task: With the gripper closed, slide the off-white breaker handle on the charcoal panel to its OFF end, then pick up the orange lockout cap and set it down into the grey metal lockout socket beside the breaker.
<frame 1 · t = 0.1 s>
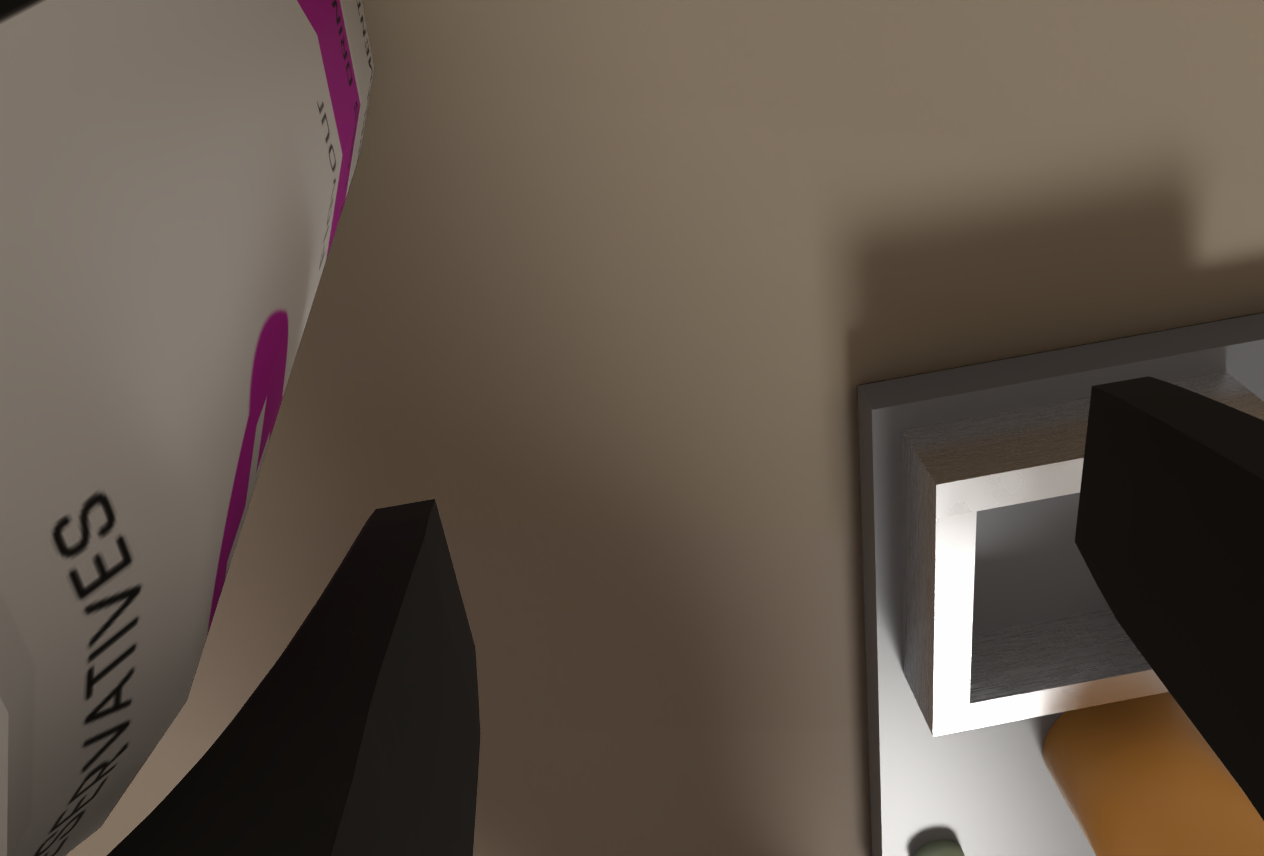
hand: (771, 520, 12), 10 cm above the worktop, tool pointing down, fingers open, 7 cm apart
supplement can: (119, 33, 18), on the worktop, touching gripper
breaker panel: (1220, 599, 27), on the worktop
lockout socket: (1053, 532, 24), resting on breaker panel
lockout cap: (1111, 736, 28), point 1 cm above the worktop, touching breaker panel
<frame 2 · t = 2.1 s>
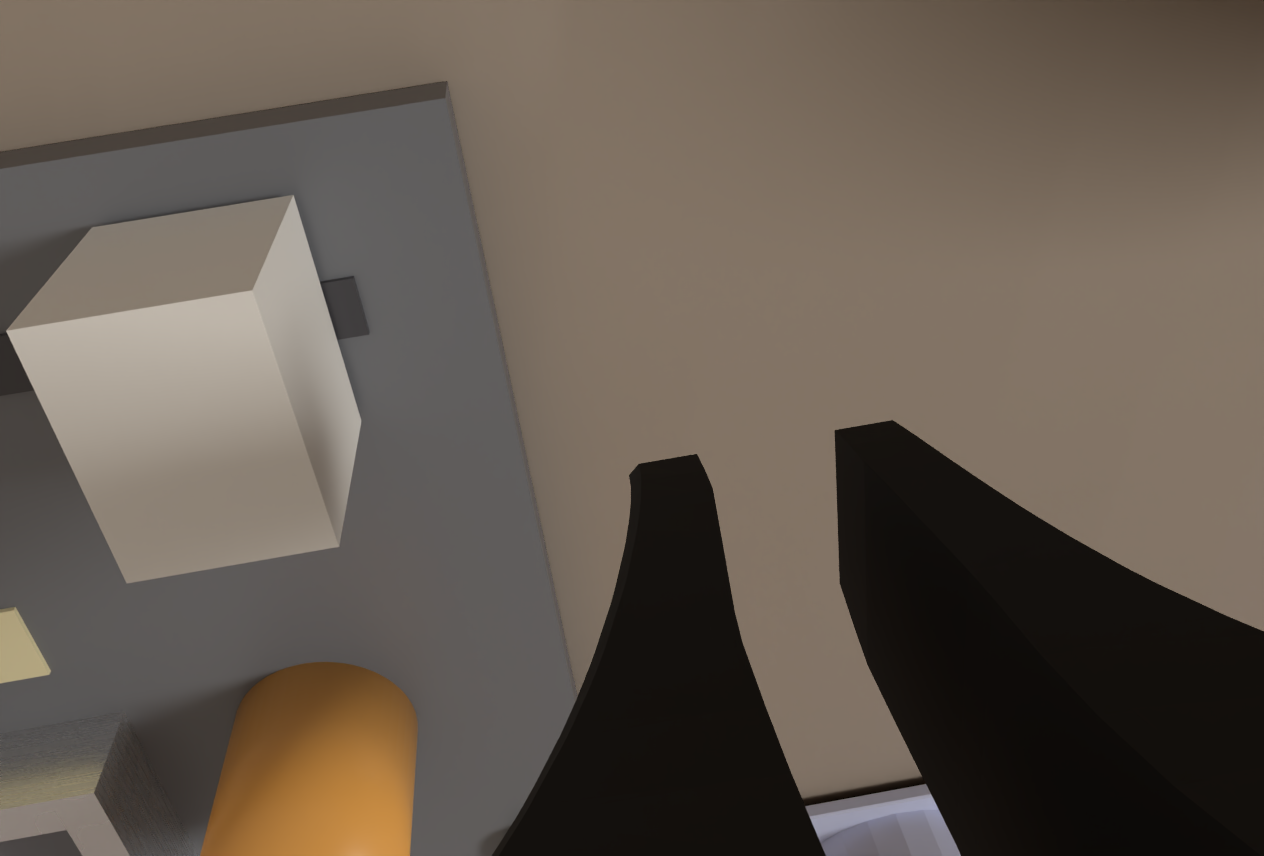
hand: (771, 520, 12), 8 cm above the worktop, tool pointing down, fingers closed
breaker handle: (212, 383, 16), point 3 cm above the worktop, slide at 0.0 cm
breaker panel: (139, 610, 21), on the worktop
lockout socket: (21, 854, 23), resting on breaker panel
lockout cap: (327, 728, 22), point 1 cm above the worktop, touching breaker panel
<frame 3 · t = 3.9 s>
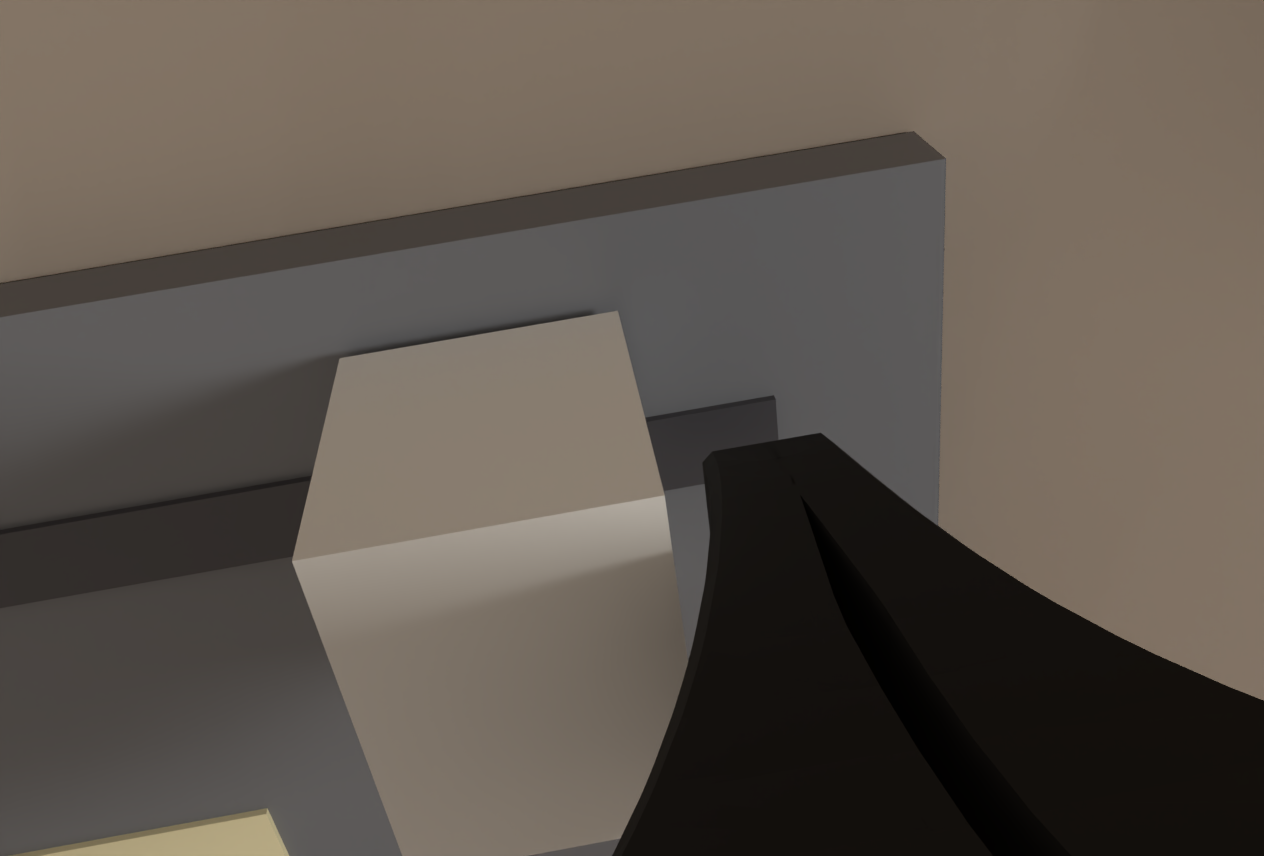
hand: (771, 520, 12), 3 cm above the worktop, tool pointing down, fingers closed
breaker handle: (518, 582, 11), point 3 cm above the worktop, slide at 1.2 cm, touching gripper
breaker panel: (401, 793, 17), on the worktop
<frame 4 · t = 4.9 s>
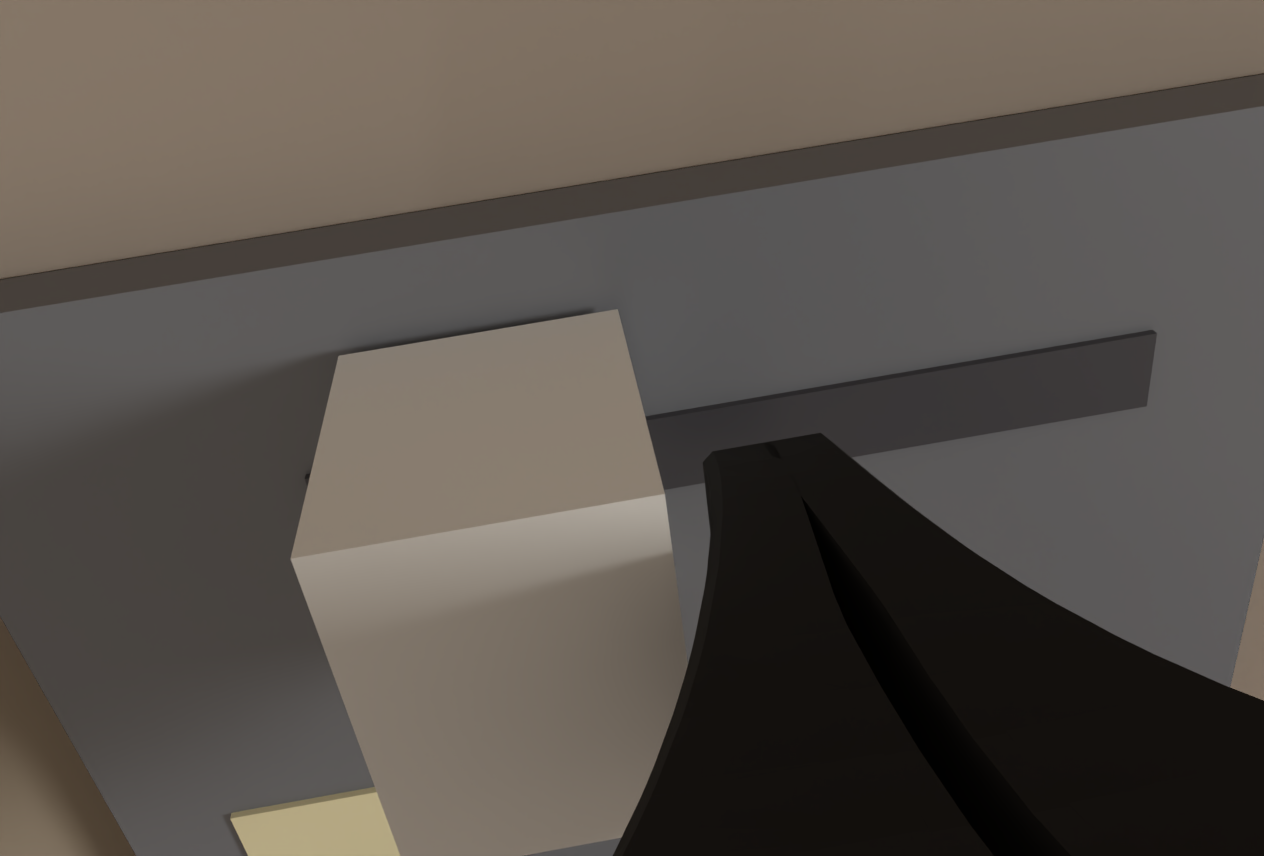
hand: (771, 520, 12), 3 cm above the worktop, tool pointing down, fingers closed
breaker handle: (517, 580, 11), point 3 cm above the worktop, slide at 5.7 cm, touching gripper
breaker panel: (690, 739, 17), on the worktop
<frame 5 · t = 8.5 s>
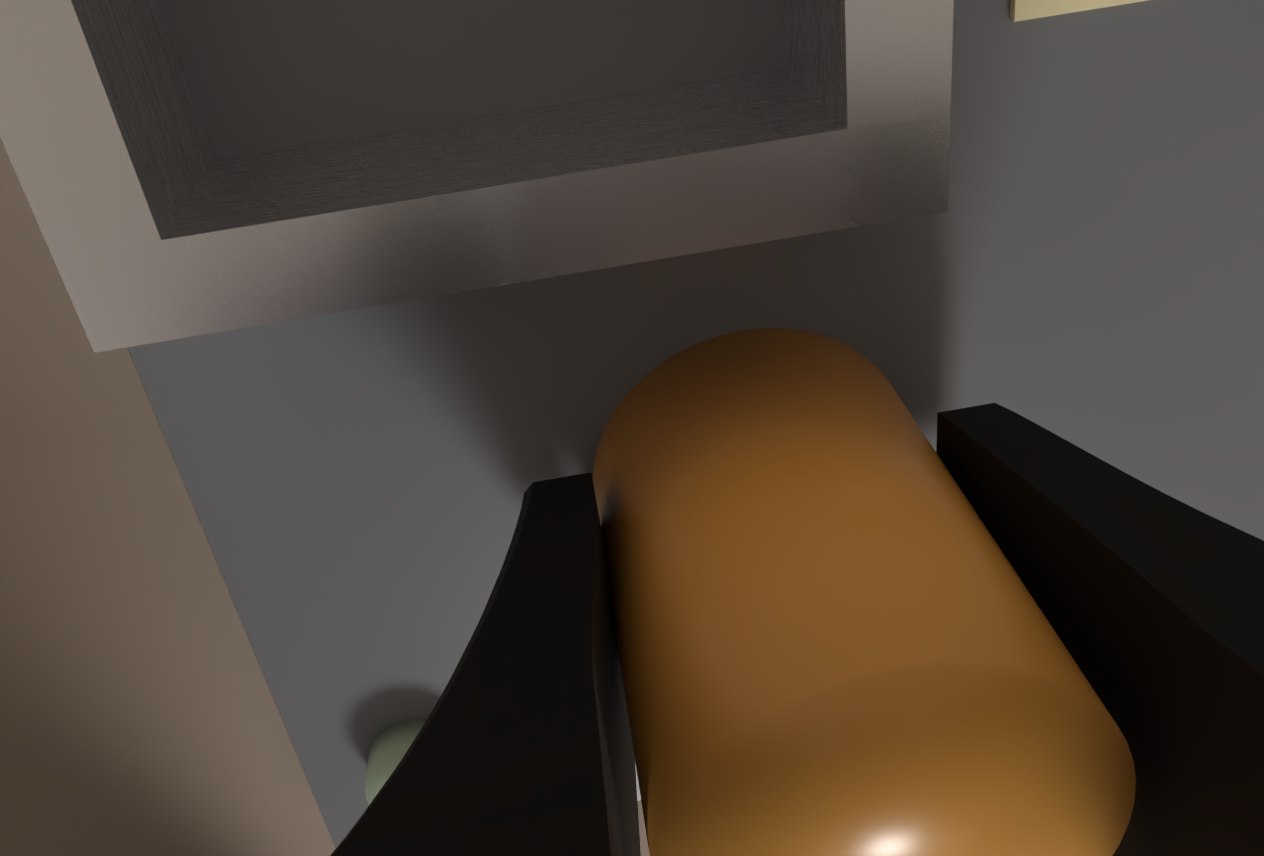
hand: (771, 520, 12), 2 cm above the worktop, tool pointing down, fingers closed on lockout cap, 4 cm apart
breaker panel: (990, 142, 12), on the worktop
lockout cap: (752, 473, 12), point 1 cm above the worktop, touching breaker panel, gripper
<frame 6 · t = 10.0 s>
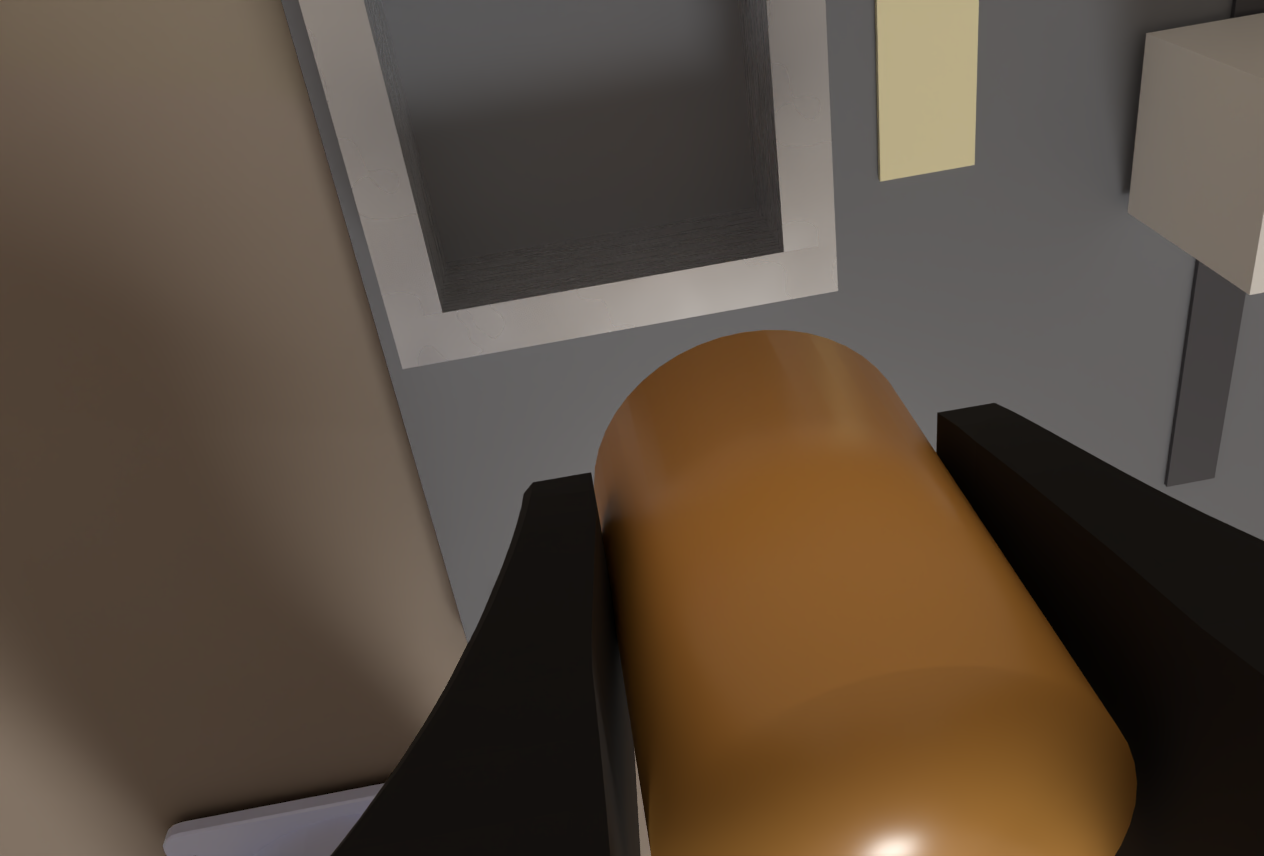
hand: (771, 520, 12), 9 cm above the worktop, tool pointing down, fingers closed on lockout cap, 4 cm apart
breaker panel: (879, 238, 20), on the worktop
lockout socket: (575, 75, 17), resting on breaker panel
lockout cap: (753, 474, 12), point 8 cm above the worktop, touching gripper
when the fingers open (4 cm above the worktop, at t = 11.4 s): lockout cap drops 2 cm, resting on breaker panel.
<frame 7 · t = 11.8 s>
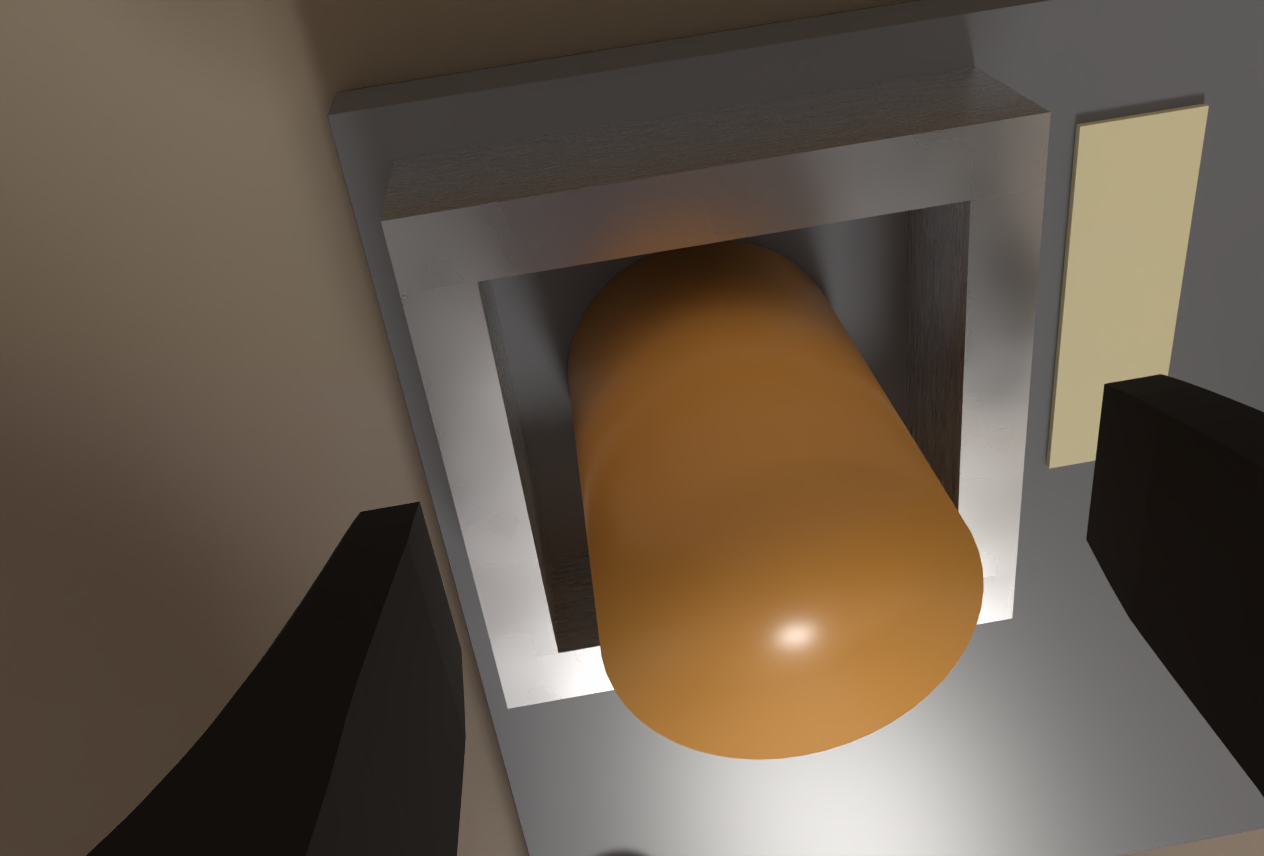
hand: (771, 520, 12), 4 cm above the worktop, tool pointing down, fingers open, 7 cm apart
breaker panel: (1030, 505, 18), on the worktop
lockout socket: (712, 368, 14), resting on breaker panel
lockout cap: (704, 368, 14), point 1 cm above the worktop, touching breaker panel
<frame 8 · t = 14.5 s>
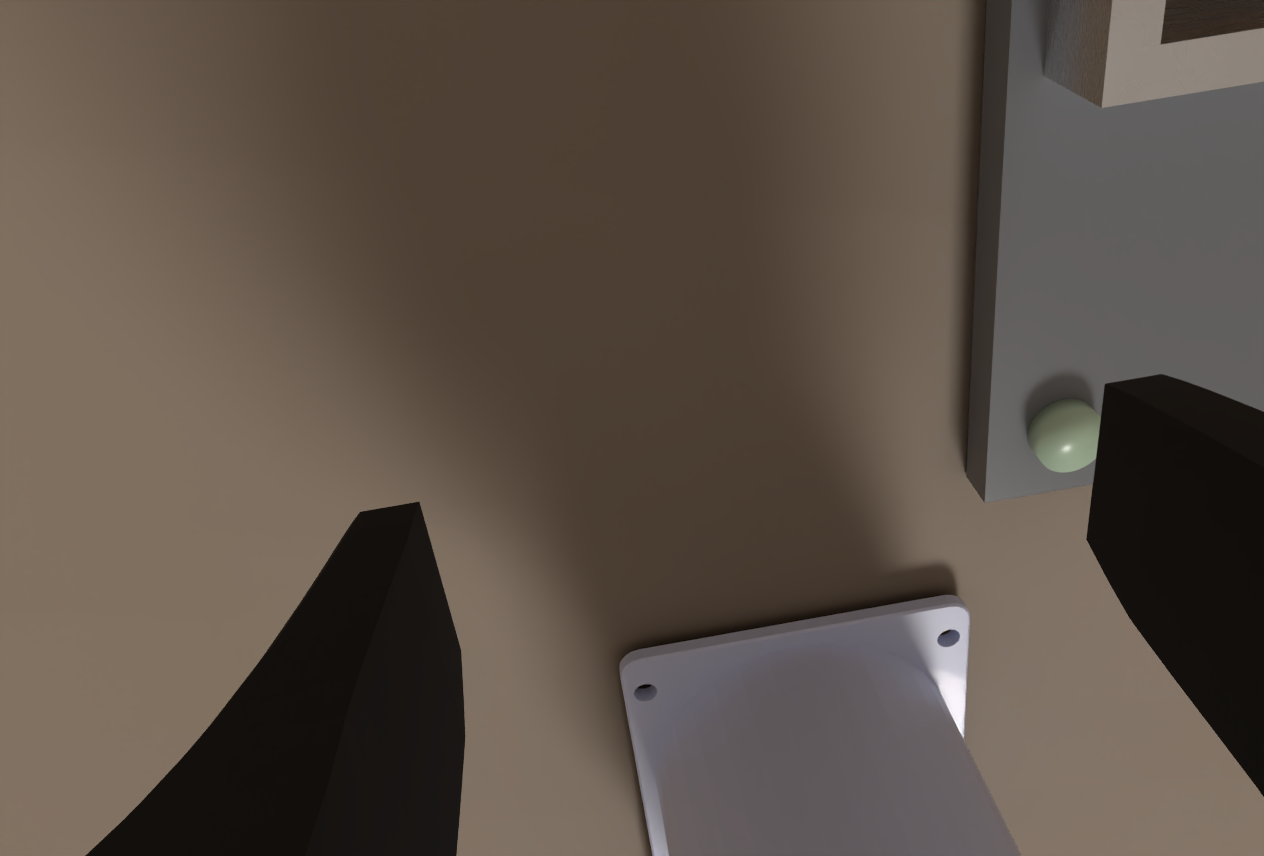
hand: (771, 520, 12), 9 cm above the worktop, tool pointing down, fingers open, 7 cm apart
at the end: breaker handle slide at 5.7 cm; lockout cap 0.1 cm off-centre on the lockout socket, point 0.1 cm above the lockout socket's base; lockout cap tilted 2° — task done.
